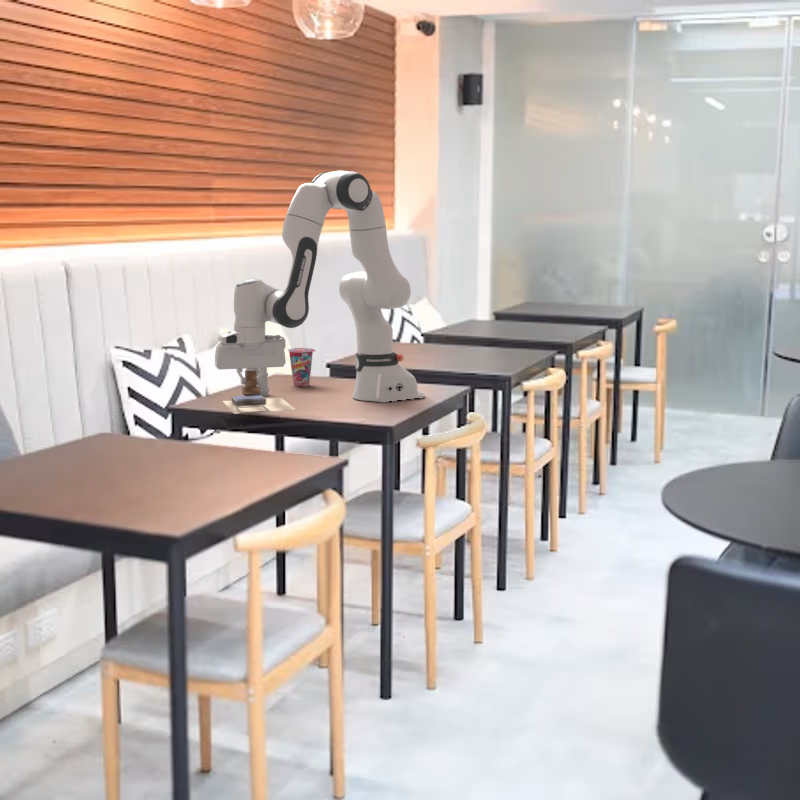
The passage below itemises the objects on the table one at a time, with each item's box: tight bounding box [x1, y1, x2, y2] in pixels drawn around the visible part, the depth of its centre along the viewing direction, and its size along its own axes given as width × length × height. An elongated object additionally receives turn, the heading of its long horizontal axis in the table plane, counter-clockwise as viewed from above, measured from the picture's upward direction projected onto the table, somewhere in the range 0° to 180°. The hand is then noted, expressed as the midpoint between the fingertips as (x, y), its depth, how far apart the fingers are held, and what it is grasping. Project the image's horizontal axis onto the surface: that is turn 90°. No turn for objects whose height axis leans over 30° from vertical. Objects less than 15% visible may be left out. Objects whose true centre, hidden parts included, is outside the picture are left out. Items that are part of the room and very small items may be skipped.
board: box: [222, 395, 297, 415], centre depth 330 cm, size 18×21×3 cm
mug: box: [245, 368, 270, 397], centre depth 349 cm, size 8×12×12 cm, turn 170°
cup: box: [287, 347, 316, 387], centre depth 369 cm, size 9×8×12 cm
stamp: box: [241, 369, 260, 396], centre depth 322 cm, size 4×4×7 cm
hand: (250, 383), depth 322 cm, fingers closed on stamp, 3 cm apart
